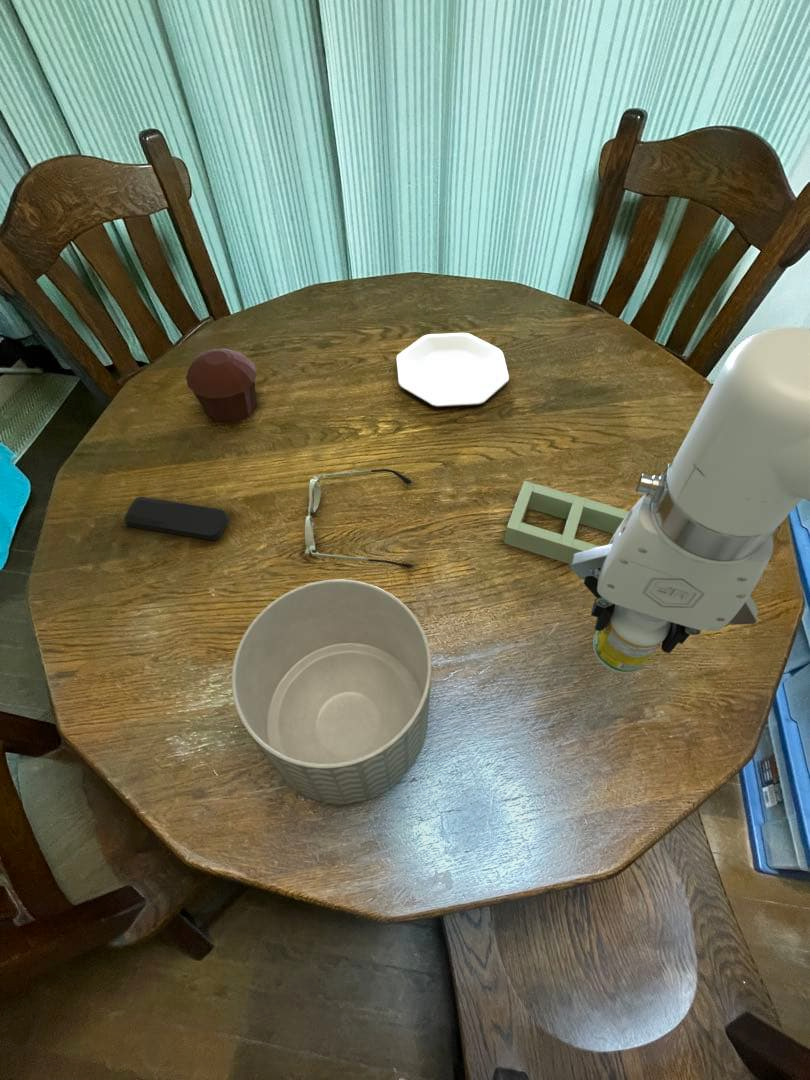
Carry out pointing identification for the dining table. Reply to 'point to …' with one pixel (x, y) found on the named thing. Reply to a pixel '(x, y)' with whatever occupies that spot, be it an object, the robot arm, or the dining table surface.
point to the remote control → (177, 518)
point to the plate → (452, 369)
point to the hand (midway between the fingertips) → (633, 627)
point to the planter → (335, 689)
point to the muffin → (223, 384)
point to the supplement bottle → (629, 639)
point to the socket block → (562, 507)
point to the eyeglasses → (317, 493)
